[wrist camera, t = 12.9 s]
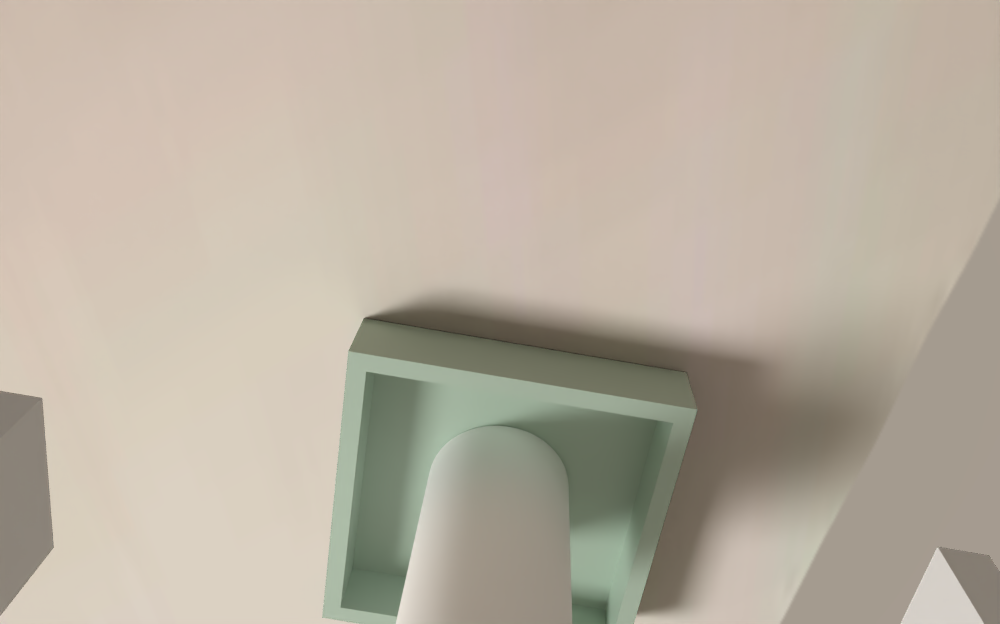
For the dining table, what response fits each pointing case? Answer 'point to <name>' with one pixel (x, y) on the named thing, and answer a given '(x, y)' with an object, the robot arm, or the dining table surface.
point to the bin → (513, 403)
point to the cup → (492, 534)
